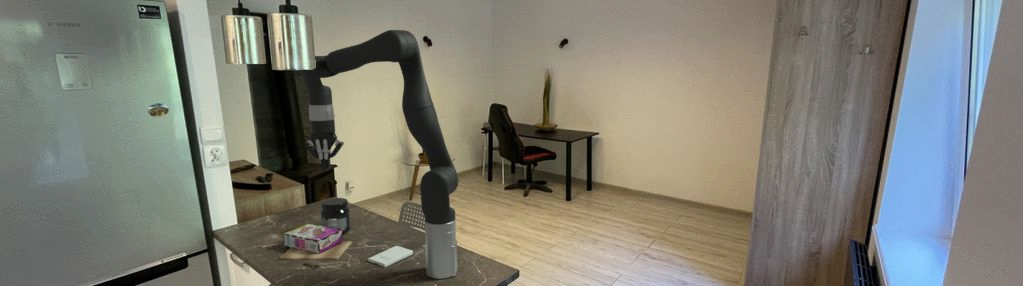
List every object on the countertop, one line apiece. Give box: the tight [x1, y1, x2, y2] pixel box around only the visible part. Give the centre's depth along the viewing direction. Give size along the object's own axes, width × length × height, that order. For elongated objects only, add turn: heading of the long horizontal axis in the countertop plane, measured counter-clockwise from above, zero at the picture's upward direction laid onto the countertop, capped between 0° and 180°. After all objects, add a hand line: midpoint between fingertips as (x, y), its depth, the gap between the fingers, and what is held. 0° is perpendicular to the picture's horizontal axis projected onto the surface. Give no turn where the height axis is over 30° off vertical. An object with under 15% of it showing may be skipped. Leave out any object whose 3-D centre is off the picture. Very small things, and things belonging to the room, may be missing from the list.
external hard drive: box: [367, 245, 414, 268], centre depth 157 cm, size 2×8×12 cm
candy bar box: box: [283, 223, 344, 254], centre depth 166 cm, size 11×5×16 cm
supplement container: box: [319, 197, 351, 235], centre depth 179 cm, size 10×10×12 cm
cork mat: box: [279, 240, 353, 261], centre depth 162 cm, size 19×14×1 cm
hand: (325, 169), depth 157 cm, fingers closed
